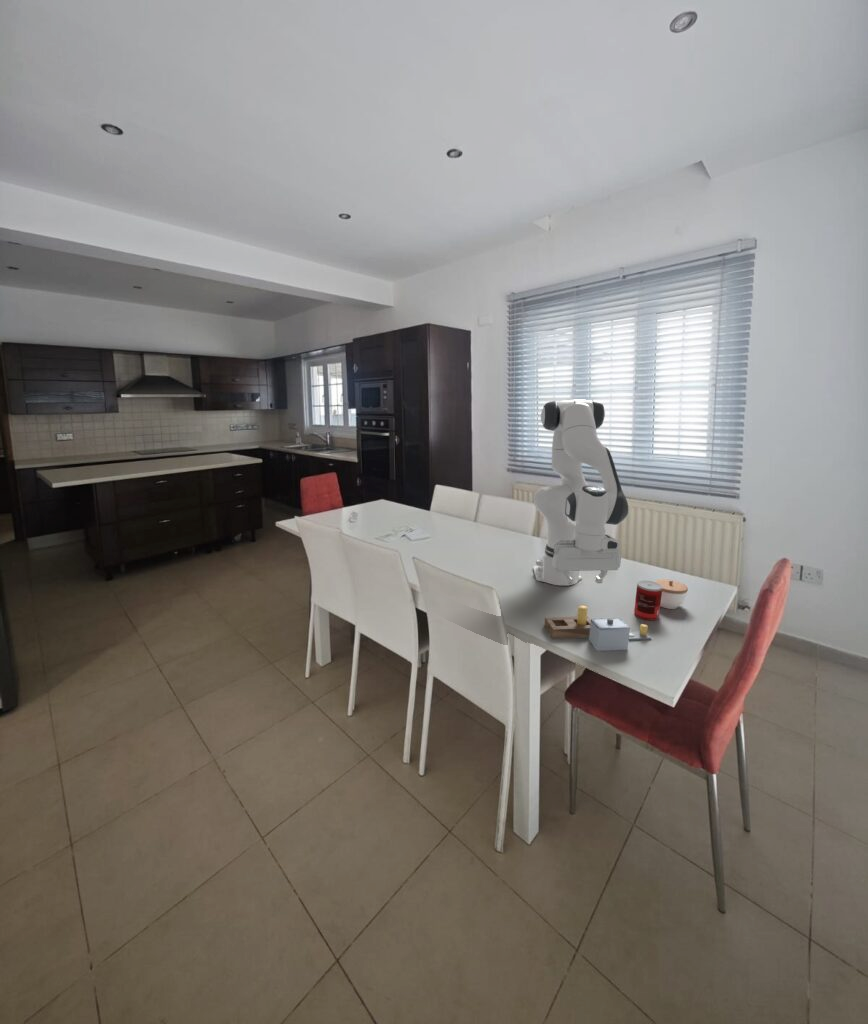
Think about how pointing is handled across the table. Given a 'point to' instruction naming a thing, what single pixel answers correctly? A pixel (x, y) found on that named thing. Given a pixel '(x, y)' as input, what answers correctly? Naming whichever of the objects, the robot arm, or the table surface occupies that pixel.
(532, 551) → the table surface
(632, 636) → the plate
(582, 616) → the peg
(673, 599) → the lidded jar
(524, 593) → the table surface
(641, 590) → the canned food
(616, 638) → the cover
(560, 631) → the socket board
